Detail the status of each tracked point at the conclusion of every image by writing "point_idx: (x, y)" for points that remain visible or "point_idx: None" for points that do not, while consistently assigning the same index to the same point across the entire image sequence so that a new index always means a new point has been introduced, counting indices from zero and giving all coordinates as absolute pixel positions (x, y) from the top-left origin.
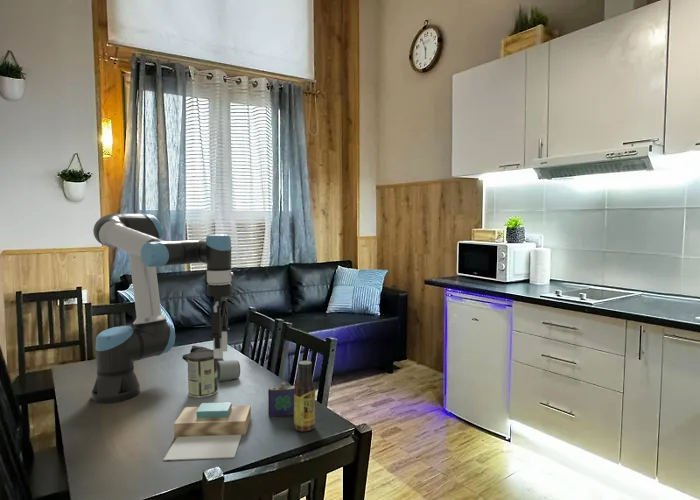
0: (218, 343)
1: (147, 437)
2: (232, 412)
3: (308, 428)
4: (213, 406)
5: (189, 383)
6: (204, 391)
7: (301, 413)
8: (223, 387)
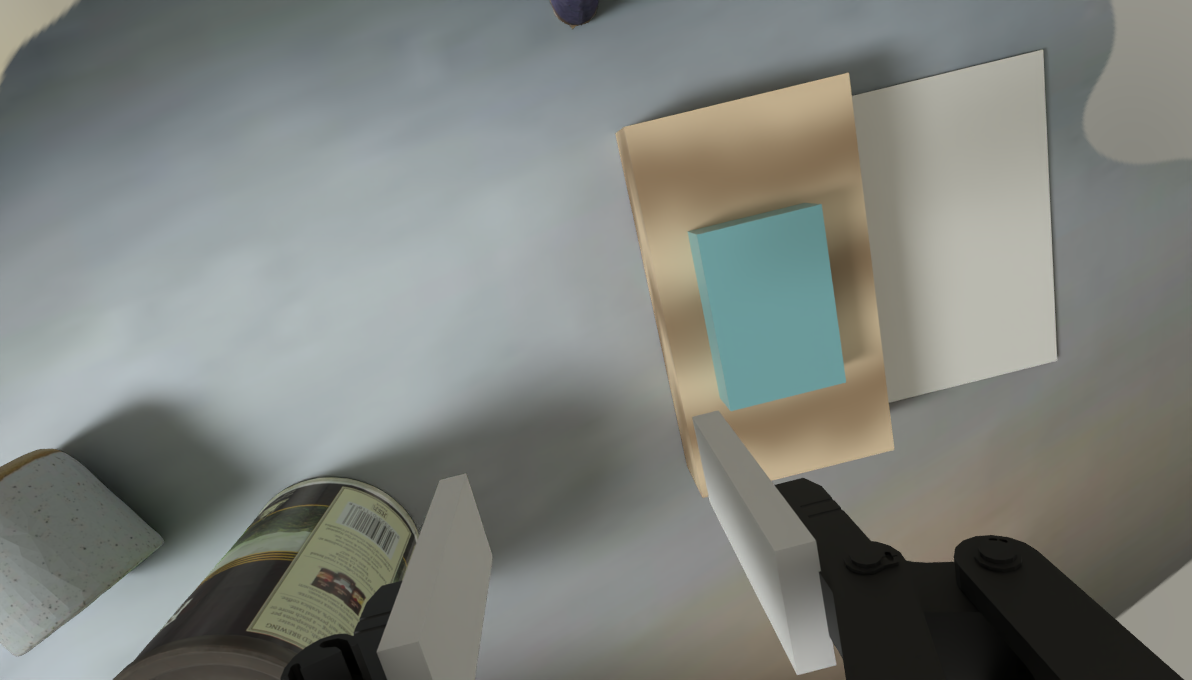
0: (847, 524)
1: (866, 531)
2: (741, 202)
3: None
4: (771, 319)
5: None
6: (396, 529)
7: None
8: (232, 477)
